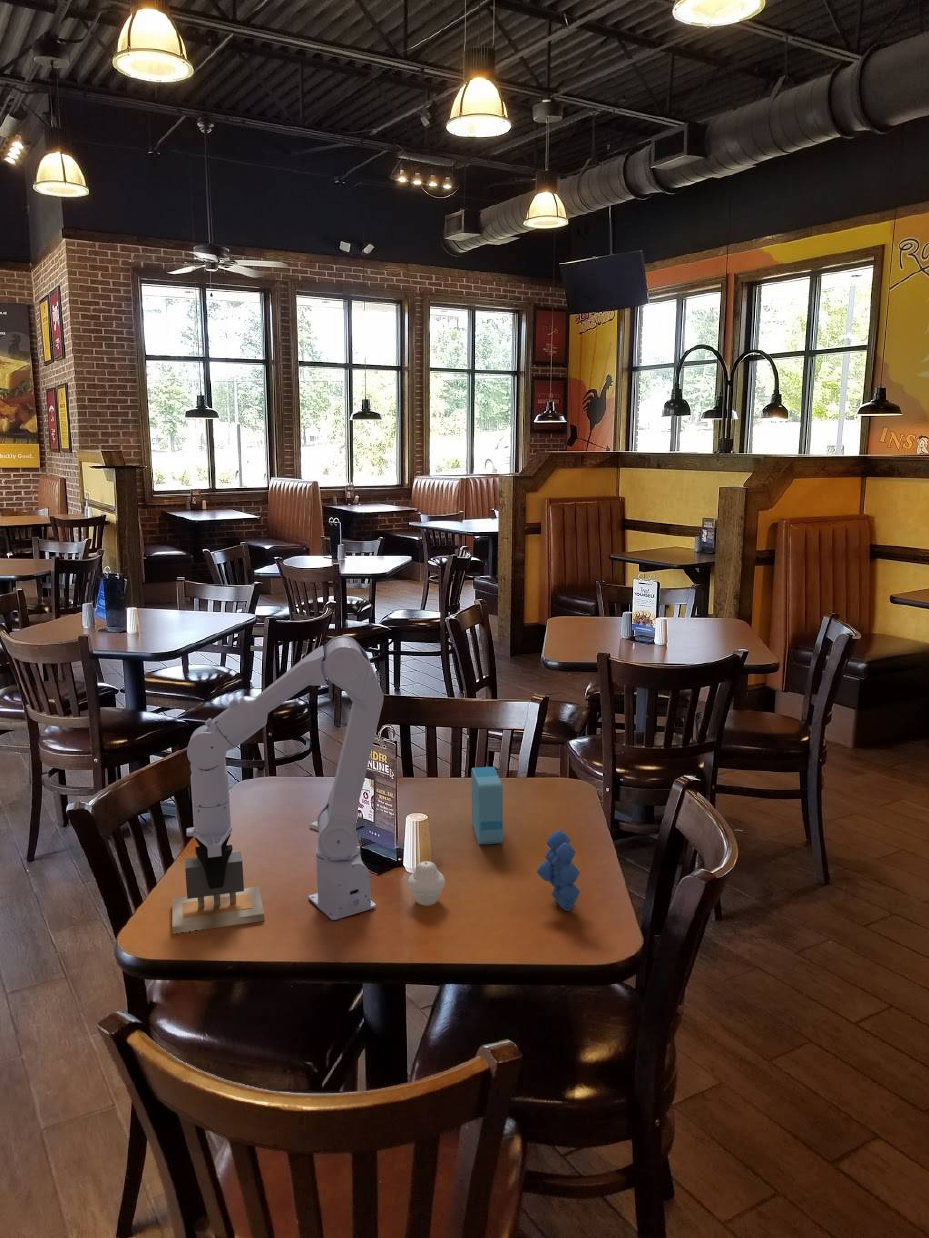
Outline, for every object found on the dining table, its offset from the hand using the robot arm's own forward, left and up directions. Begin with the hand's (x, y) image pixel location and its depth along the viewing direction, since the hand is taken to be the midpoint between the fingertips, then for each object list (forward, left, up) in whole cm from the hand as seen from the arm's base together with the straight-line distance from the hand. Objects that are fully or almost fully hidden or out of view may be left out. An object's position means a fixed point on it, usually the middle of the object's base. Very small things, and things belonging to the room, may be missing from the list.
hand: (215, 881), depth 153 cm
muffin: (-16, -30, -6) cm, 35 cm away
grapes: (-29, -47, -6) cm, 55 cm away
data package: (+1, -54, -6) cm, 54 cm away
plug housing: (0, 0, -2) cm, 2 cm away
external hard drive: (+22, -34, -6) cm, 41 cm away
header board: (0, 0, -6) cm, 6 cm away
